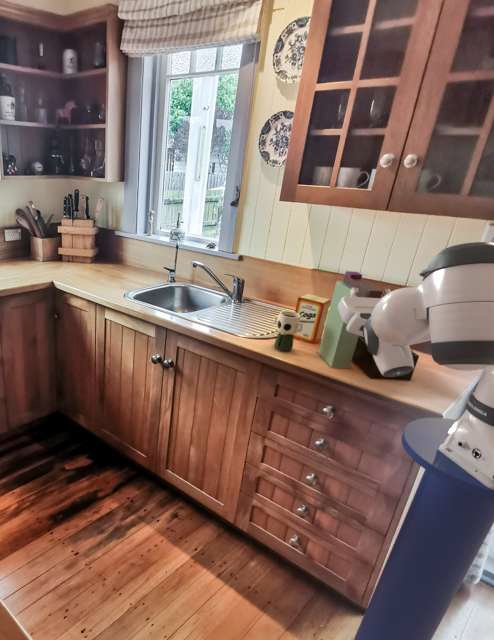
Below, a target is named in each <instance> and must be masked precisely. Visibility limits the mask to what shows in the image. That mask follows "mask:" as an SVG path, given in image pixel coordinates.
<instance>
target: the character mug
mask: <svg viewBox="0 0 494 640" xmlns="http://www.w3.org/2000/svg"><path fill="white" fill-rule="evenodd" d="M300 318H301V315H300V314H298V313H295V311H291V310H282V311H280V312H279V313H278V314H276V315H275V316H274V319H273V323H274V324H275V325H276V330H277V332H278V333H277V335H276V338H275V340H274V344H273V347H274V348H275V349H276V350H277V349H278V348H279V351H282V352H283V351H284V352H288V351H291V350H293V348H294V347H293V346H294V338H293V334H295V333H297V331H298V332H301V331H302V328H303V324H302V323H300ZM299 325H300V328H299V329H298V327H299Z"/></svg>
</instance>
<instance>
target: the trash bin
mask: <svg viewBox="0 0 494 640" xmlns="http://www.w3.org/2000/svg"><path fill="white" fill-rule="evenodd" d="M410 350H411V353H412V357H413V363H414V369H413V370H412V371H411V372H409V373H407V374H405V375H402V376H397V377H385V376H383V375H382V374H381V372H380V370H379V369H378V367H377V365H376V362H375V360H374V357H373V354H371V353H370V352H369V351H368V349H367V346H366V343H365V340H364V337H362V336H359V337H358V340H357V344H356V347H355V350H354V354H353V357H352V361H351V362H353V363H354V364H355V365H356V366H357V367H358V368H359V369H360V370H361V371H362V372H363V373H364V374H365V375H366V376H367V377H368V378H369V379H370V380H371V379H373V380H392V381H411V380H412V378H413V374H414V372H415V369H416V367H417V363H418V361H419V358H420V355H419V354H418V353H416V352H415V351H414V350H412V349H411V348H410Z"/></svg>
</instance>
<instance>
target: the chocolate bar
mask: <svg viewBox="0 0 494 640" xmlns="http://www.w3.org/2000/svg"><path fill="white" fill-rule="evenodd" d="M362 277H363V274H362V273H360V272H359V271H349V270H348V271H347V270H345V273H344V277H343V280H342V281H343V282H344V283H345V284H347V285H348V286H350V287H351V288H358V291H359V293H360V294H362V295H364V296H365V297H367V298H382V296H383V295H382V292H383V291H384V290H381V289H380V288H378V287H376V286H374V285H373V284H371V283H369V282H368V281H366V280H364V279H363V278H362Z"/></svg>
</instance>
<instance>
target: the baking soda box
mask: <svg viewBox="0 0 494 640" xmlns="http://www.w3.org/2000/svg"><path fill="white" fill-rule="evenodd" d="M331 302H332V299H330V298H326V297H321V296H318V295H314V294H309V293H304V294H302V295H300V296H298V297H297V302H296V305H295V311H294V312H295V313H298V314H300V315H301V318H300V323H302V324H303V328H302V331H301V332H298V331H297V333H295V334H293V339H295V340H300V341H303V342H306V343H310V344H313V345H315V344H316V343H319V342H320V341H322V337H323V333H324V329H325V328H324V325H325V321H326V317H327V313H328V309H329V307H330V305H331ZM299 328H300V325H299V327H298V329H299Z"/></svg>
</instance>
